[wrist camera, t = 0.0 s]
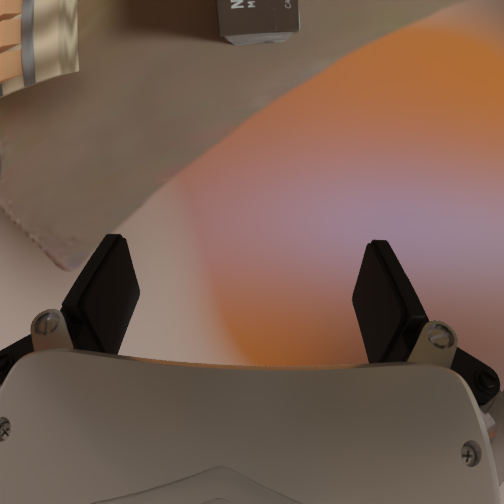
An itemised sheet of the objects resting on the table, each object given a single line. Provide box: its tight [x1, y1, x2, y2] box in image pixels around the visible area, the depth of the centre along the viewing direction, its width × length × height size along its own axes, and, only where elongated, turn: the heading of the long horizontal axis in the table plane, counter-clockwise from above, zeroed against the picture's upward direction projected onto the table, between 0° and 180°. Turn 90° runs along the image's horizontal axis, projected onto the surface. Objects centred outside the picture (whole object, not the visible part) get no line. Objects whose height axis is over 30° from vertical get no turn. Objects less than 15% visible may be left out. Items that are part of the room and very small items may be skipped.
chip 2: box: [0, 49, 23, 83], centre depth 24 cm, size 4×4×4 cm
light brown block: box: [0, 19, 21, 53], centre depth 21 cm, size 4×4×4 cm
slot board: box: [0, 0, 79, 98], centre depth 24 cm, size 18×18×6 cm
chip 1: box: [0, 0, 22, 22], centre depth 18 cm, size 4×4×4 cm
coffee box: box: [216, 0, 300, 45], centre depth 22 cm, size 9×6×16 cm
